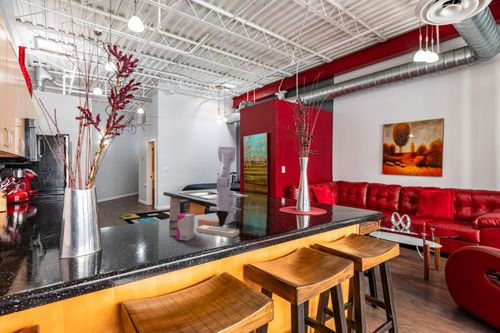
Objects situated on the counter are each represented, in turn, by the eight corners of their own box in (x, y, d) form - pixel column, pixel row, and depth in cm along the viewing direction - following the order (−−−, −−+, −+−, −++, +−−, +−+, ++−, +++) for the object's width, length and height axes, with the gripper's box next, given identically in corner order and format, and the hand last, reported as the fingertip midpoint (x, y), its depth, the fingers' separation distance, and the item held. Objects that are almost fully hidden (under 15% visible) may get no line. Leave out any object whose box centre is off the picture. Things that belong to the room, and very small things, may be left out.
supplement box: (194, 238, 119) (195, 213, 119) (188, 242, 113) (188, 215, 113) (182, 237, 120) (183, 212, 120) (176, 240, 115) (176, 214, 114)
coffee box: (181, 237, 120) (182, 202, 120) (168, 235, 122) (169, 201, 121) (189, 231, 129) (190, 199, 129) (177, 230, 131) (178, 198, 130)
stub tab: (202, 224, 143) (203, 217, 143) (222, 227, 138) (222, 220, 138) (197, 226, 138) (197, 219, 138) (217, 229, 134) (217, 222, 134)
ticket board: (204, 228, 136) (204, 224, 136) (239, 233, 129) (239, 229, 129) (196, 231, 130) (196, 227, 130) (232, 237, 122) (232, 232, 122)
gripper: (206, 199, 134) (205, 225, 135) (231, 201, 129) (231, 229, 129) (213, 197, 141) (213, 222, 141) (238, 200, 135) (237, 226, 136)
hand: (222, 225), depth 136 cm, fingers closed
